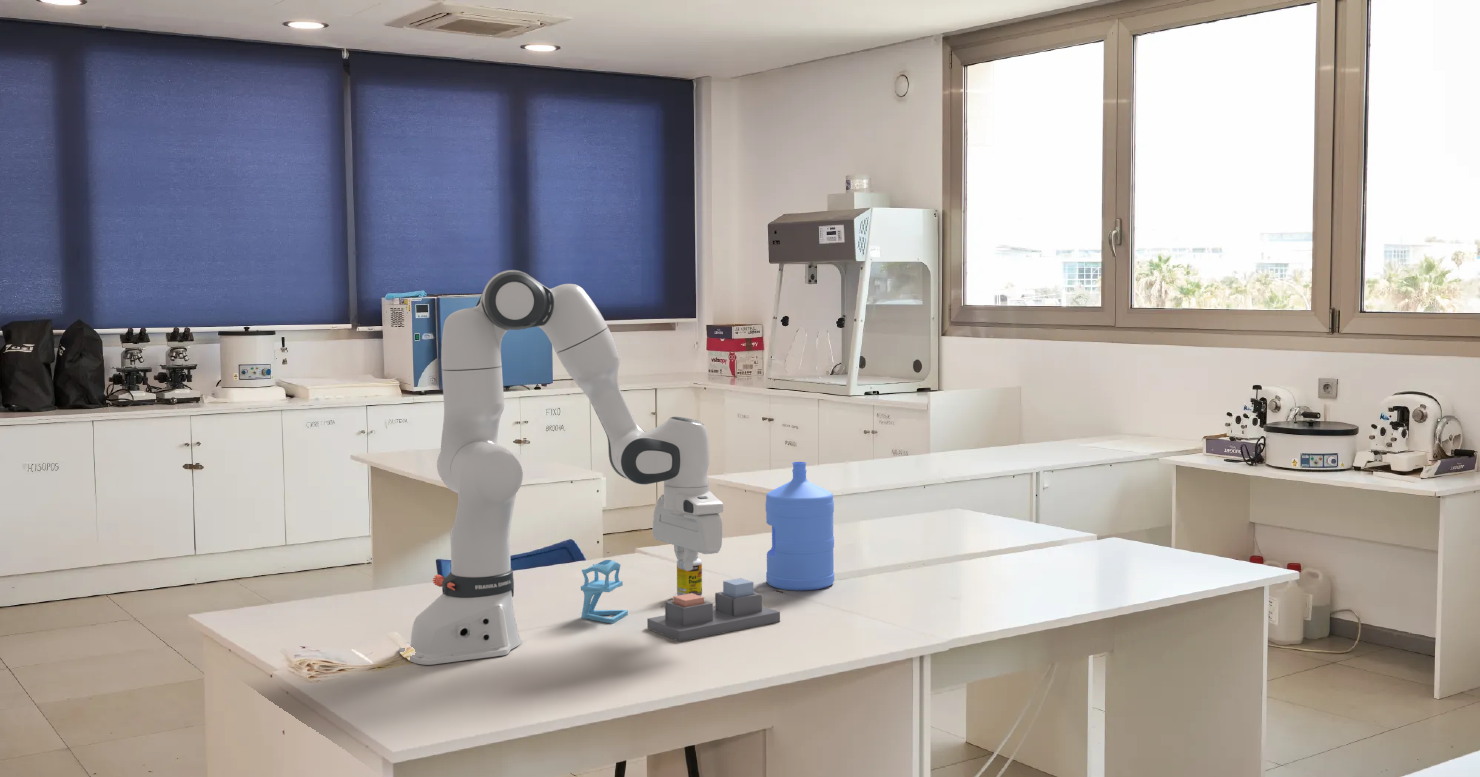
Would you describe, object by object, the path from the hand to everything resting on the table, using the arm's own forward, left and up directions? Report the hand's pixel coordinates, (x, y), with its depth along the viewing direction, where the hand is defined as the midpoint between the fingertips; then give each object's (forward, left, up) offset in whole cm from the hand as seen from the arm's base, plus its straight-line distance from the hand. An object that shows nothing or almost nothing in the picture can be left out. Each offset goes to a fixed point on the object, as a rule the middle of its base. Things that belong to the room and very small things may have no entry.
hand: (685, 569), depth 240 cm
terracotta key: (+1, 0, -9) cm, 9 cm away
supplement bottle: (+16, +23, -12) cm, 30 cm away
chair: (-8, +19, -12) cm, 24 cm away
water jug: (+43, +18, -12) cm, 48 cm away
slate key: (+13, 0, -7) cm, 15 cm away
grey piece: (+7, 0, -12) cm, 14 cm away
